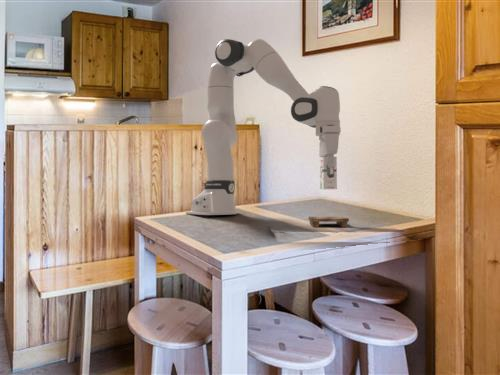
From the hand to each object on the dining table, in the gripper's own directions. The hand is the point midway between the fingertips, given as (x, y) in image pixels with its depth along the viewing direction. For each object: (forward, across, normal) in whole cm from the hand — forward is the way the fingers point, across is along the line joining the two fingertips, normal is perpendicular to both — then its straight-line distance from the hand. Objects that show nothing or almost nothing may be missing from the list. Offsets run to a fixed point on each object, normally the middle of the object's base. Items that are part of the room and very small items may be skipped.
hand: (327, 168), depth 164 cm
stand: (+21, 0, 0) cm, 21 cm away
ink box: (+8, 0, 0) cm, 8 cm away
